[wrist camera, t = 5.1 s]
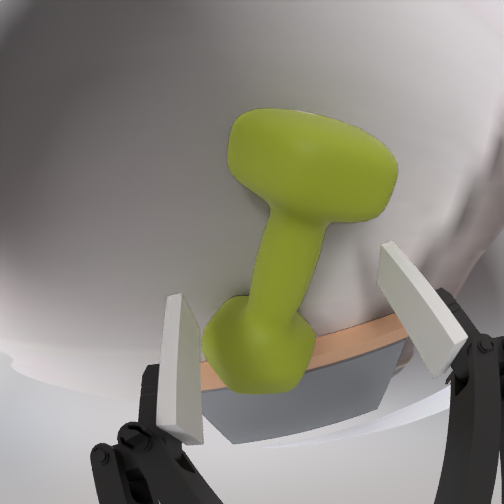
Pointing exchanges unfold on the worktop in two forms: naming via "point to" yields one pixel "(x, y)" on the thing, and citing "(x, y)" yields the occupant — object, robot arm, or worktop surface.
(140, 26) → the worktop surface
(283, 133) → the dumbbell
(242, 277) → the worktop surface
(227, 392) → the board
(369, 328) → the strip
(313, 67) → the worktop surface
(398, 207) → the worktop surface
